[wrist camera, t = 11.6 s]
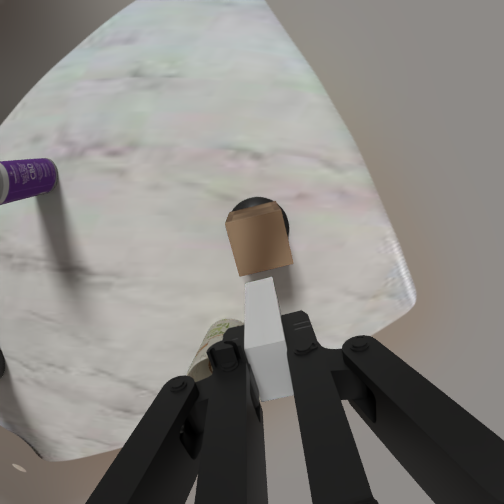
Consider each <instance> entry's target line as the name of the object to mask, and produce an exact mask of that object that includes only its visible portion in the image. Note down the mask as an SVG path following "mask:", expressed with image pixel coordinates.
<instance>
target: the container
mask: <svg viewBox="0 0 504 504" xmlns="http://www.w3.org/2000/svg"><path fill="white" fill-rule="evenodd" d="M57 179H58V172H57V168H56V165H55V164H54V162H53V161H52V160H50V159H47V158H41V159H26V160H13V161H2V162H0V205H2V204H6V203H10V202H13V201H17V200H21V199H25V198H29V197H33V196H37V195H41V194H45V193H48V192H50V191H52V190H53V188H54V187H55V185H56V183H57Z"/></svg>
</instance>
